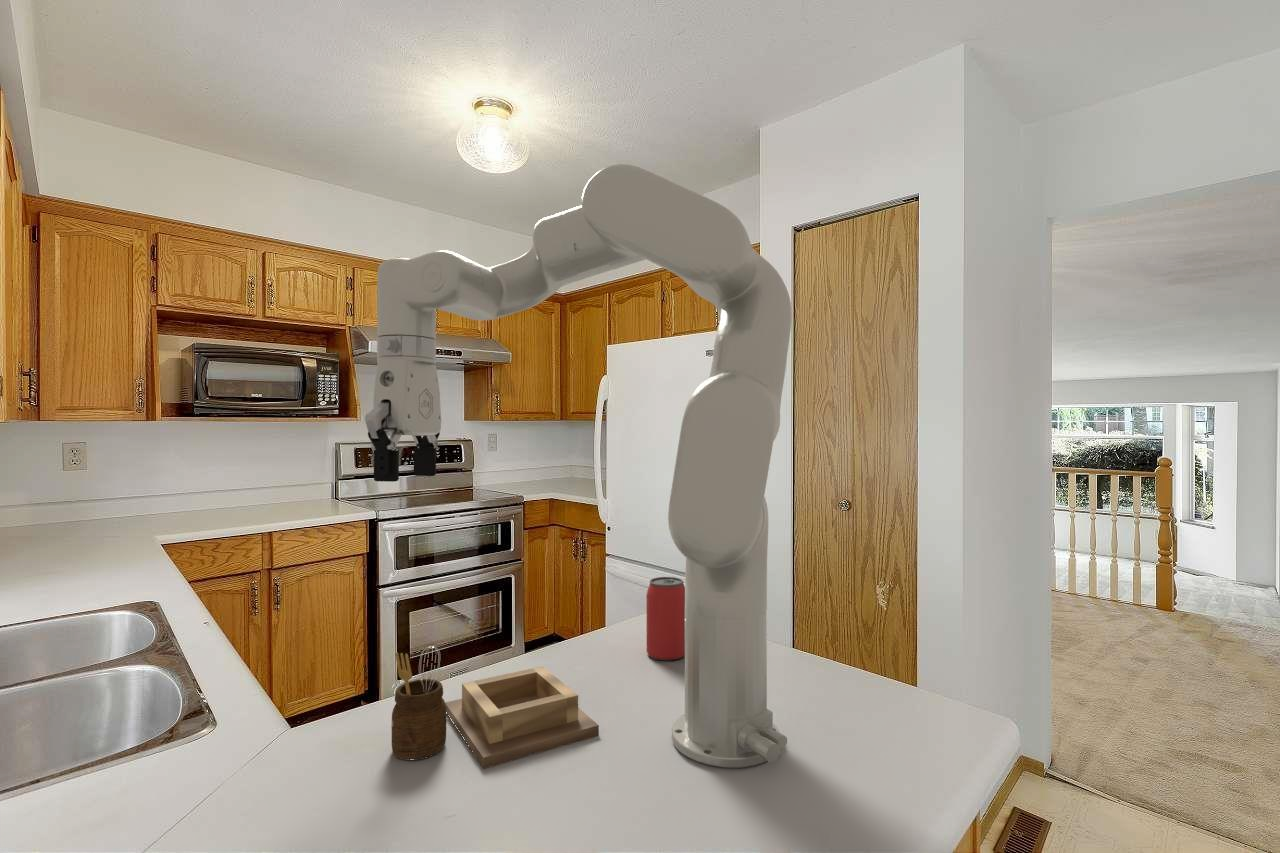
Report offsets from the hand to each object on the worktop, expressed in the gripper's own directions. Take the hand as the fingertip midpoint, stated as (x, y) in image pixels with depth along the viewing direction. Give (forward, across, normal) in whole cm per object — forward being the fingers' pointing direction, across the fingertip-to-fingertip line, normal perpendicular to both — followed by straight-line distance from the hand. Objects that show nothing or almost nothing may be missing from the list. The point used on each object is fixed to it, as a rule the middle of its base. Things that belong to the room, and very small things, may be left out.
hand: (406, 478), depth 85 cm
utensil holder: (+30, -12, -9) cm, 34 cm away
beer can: (+30, +22, -33) cm, 50 cm away
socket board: (+30, -4, -18) cm, 35 cm away
